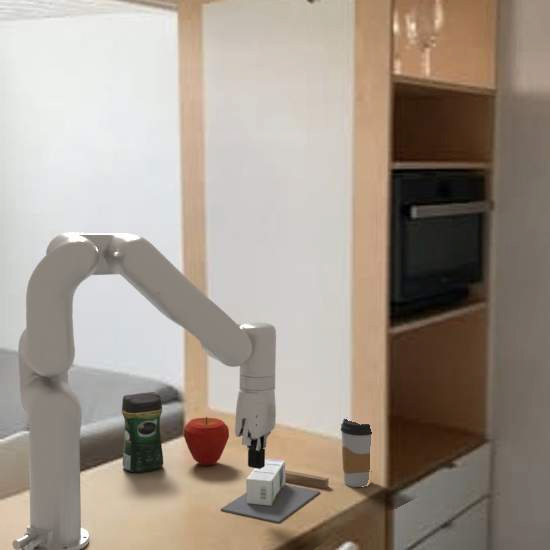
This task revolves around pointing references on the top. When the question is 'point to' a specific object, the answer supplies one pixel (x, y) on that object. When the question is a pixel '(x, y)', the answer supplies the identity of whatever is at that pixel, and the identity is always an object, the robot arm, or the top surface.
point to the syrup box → (266, 483)
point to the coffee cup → (356, 453)
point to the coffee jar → (142, 432)
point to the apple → (206, 439)
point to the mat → (279, 510)
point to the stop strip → (306, 479)
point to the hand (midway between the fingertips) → (256, 466)
